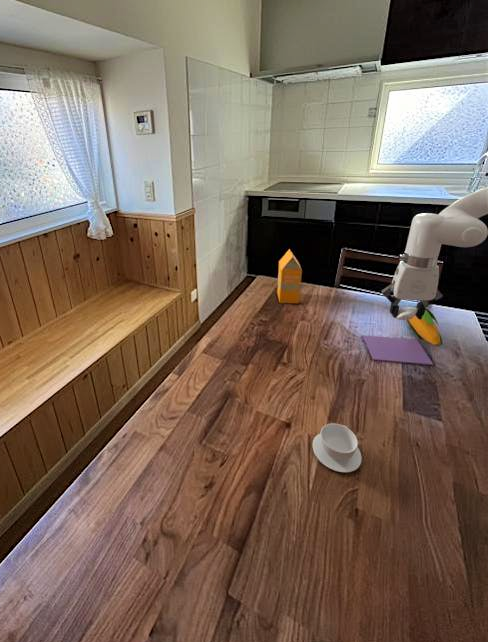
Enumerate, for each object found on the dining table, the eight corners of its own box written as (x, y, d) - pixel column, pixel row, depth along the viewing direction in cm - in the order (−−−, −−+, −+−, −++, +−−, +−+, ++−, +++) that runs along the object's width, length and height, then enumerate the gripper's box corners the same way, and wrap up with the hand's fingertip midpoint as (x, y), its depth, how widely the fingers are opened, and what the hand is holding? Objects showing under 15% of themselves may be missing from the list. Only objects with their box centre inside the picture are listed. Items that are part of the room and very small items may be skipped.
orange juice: (295, 292, 141) (299, 248, 133) (299, 303, 133) (303, 256, 125) (276, 292, 142) (279, 248, 134) (279, 303, 134) (282, 256, 126)
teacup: (352, 483, 68) (356, 467, 66) (305, 455, 74) (306, 440, 72) (367, 448, 75) (370, 433, 73) (322, 425, 81) (324, 411, 79)
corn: (428, 300, 116) (456, 333, 98) (424, 319, 119) (451, 354, 101) (403, 300, 117) (427, 332, 100) (401, 318, 120) (423, 353, 103)
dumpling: (410, 326, 95) (409, 315, 94) (391, 322, 100) (390, 310, 98) (422, 314, 98) (421, 303, 97) (403, 310, 103) (402, 299, 101)
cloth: (417, 340, 108) (417, 339, 108) (433, 365, 97) (433, 364, 97) (363, 336, 111) (363, 335, 111) (372, 360, 101) (373, 358, 101)
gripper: (389, 263, 90) (377, 321, 97) (463, 266, 86) (444, 325, 94) (381, 253, 96) (370, 307, 104) (449, 255, 93) (433, 311, 100)
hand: (405, 315), depth 99 cm, fingers closed on dumpling, 5 cm apart
